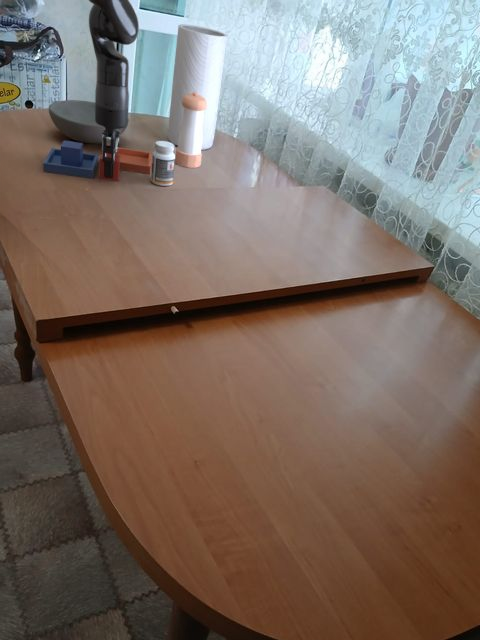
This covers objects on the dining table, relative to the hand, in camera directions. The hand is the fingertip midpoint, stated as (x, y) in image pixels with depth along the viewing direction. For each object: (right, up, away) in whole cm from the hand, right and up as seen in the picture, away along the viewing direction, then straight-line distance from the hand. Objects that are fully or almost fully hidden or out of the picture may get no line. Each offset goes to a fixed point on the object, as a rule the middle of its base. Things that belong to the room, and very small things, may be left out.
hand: (110, 171), depth 137 cm
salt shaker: (+17, +9, +20) cm, 27 cm away
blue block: (-10, +2, +1) cm, 10 cm away
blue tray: (-10, +2, +1) cm, 10 cm away
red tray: (+2, +6, +11) cm, 12 cm away
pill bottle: (+12, -2, +4) cm, 13 cm away
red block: (0, -1, +1) cm, 1 cm away
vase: (+15, +20, +35) cm, 43 cm away
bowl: (-11, +15, +20) cm, 27 cm away
